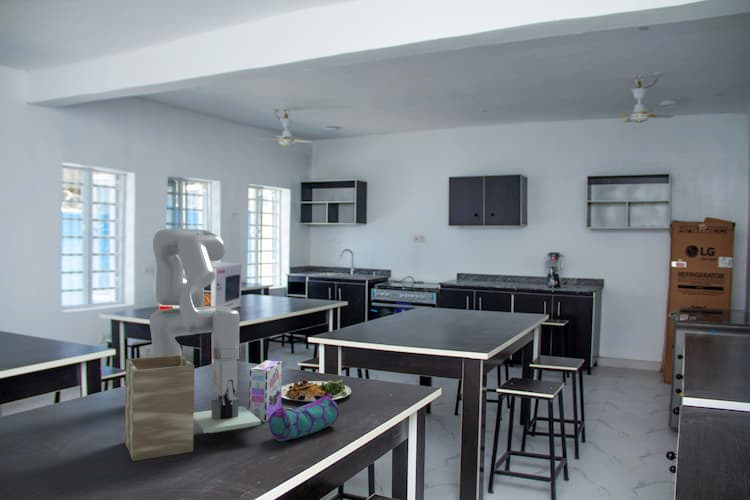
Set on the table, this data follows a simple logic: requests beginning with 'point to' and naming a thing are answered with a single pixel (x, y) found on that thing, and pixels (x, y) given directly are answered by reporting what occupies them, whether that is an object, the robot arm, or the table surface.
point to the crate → (159, 406)
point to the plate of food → (314, 390)
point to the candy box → (265, 389)
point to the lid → (214, 423)
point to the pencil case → (303, 419)
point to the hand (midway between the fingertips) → (224, 416)
